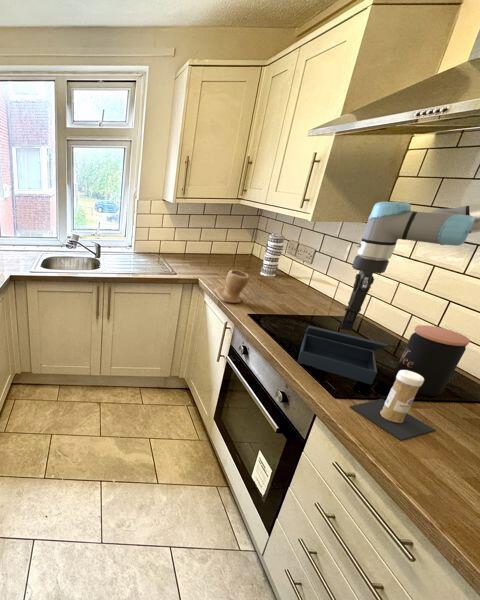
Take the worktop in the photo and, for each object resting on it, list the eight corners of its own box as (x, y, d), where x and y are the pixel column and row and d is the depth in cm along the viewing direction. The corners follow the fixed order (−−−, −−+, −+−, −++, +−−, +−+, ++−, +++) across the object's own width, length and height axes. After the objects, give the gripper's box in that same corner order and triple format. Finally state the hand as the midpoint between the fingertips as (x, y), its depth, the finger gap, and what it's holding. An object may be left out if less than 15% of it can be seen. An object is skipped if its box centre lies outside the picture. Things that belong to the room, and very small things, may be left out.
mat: (434, 431, 79) (435, 429, 78) (400, 441, 76) (401, 439, 75) (381, 399, 89) (382, 398, 89) (349, 407, 86) (350, 405, 86)
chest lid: (387, 346, 92) (387, 344, 92) (308, 327, 102) (308, 325, 102) (373, 351, 105) (374, 349, 105) (305, 333, 116) (305, 332, 116)
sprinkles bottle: (399, 426, 79) (421, 382, 74) (376, 415, 83) (396, 372, 78) (405, 419, 82) (427, 376, 76) (383, 409, 85) (402, 367, 80)
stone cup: (247, 305, 152) (253, 276, 146) (221, 304, 153) (226, 274, 147) (237, 294, 165) (243, 266, 160) (213, 293, 167) (218, 265, 161)
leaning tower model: (258, 274, 197) (267, 234, 187) (260, 271, 204) (269, 232, 194) (275, 277, 192) (285, 236, 182) (276, 273, 199) (287, 234, 189)
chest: (371, 384, 96) (377, 372, 94) (297, 362, 106) (300, 351, 105) (368, 362, 107) (373, 351, 105) (301, 344, 118) (305, 333, 116)
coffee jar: (394, 371, 102) (417, 321, 95) (442, 387, 94) (471, 334, 88) (388, 384, 96) (412, 332, 89) (439, 402, 88) (469, 347, 81)
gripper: (355, 251, 99) (331, 318, 108) (356, 259, 89) (330, 332, 98) (387, 254, 94) (360, 325, 103) (392, 264, 85) (361, 340, 94)
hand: (345, 328), depth 101 cm, fingers closed
